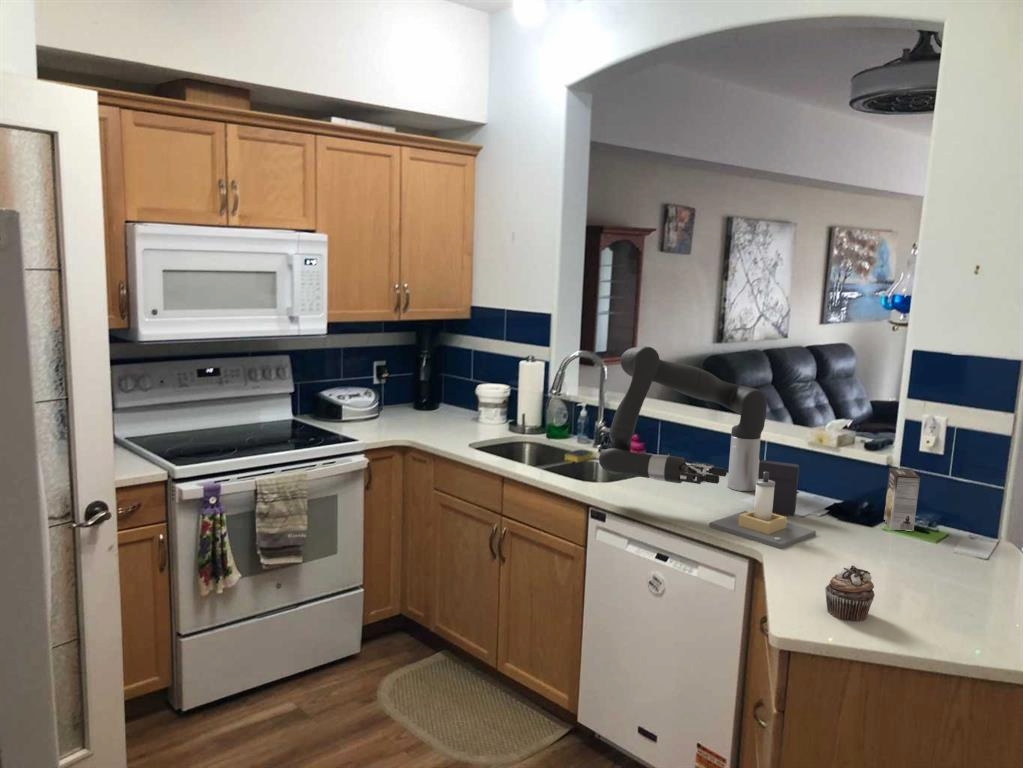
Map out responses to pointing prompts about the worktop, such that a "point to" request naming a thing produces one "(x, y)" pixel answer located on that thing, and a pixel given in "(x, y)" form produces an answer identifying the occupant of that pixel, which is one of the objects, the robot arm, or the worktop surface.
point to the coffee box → (901, 499)
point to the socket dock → (763, 529)
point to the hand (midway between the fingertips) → (722, 476)
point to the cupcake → (850, 594)
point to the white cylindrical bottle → (764, 498)
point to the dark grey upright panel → (782, 485)
